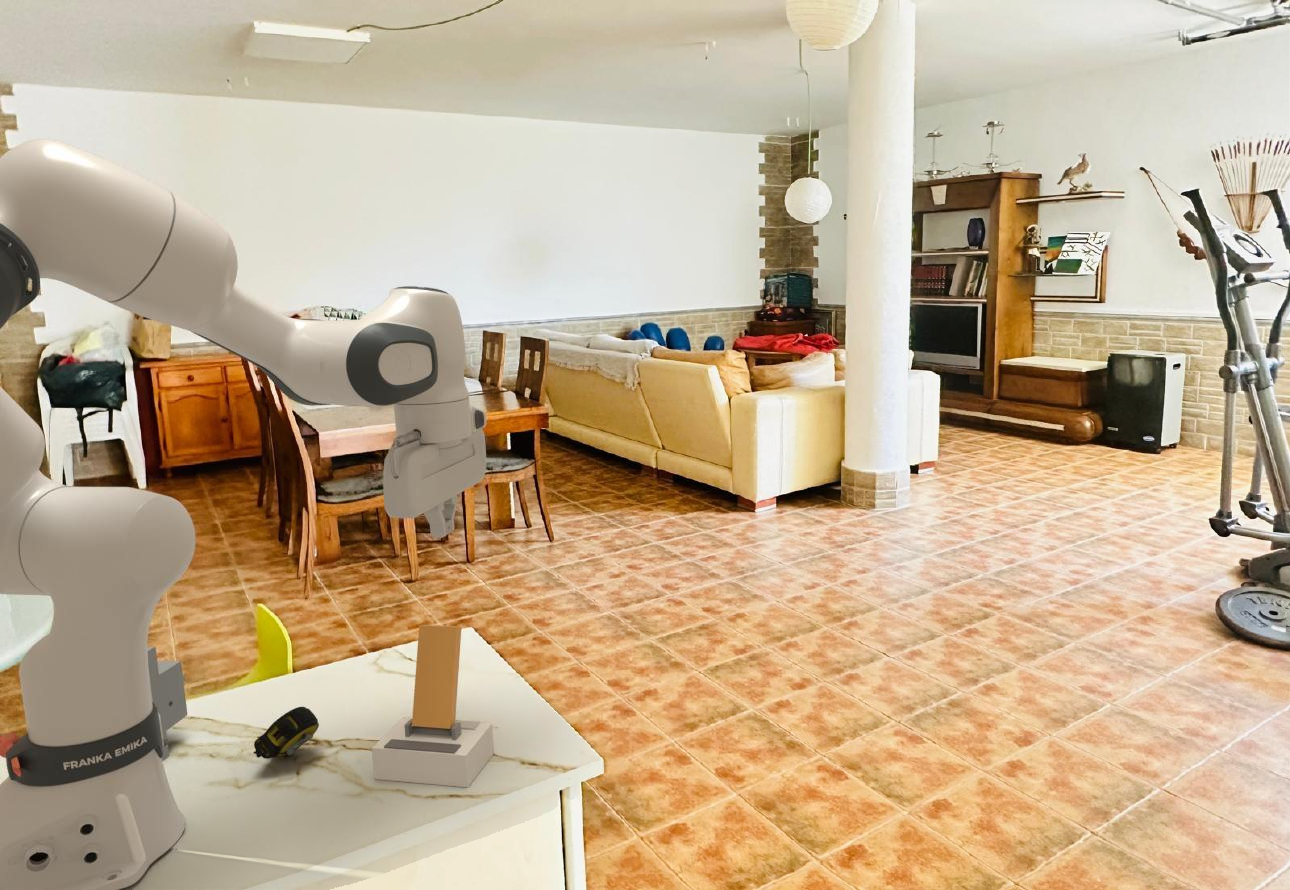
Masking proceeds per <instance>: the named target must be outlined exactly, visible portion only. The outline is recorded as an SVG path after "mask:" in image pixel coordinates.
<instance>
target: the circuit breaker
mask: <svg viewBox="0 0 1290 890" xmlns="http://www.w3.org/2000/svg"><path fill="white" fill-rule="evenodd" d="M147 652H148V666H149V678H150V688H151V696H152V702H154V704H155V707H157V709H158V713H159V715H160V720H161V727H162V734H163V744H164V746H163V756H162V761H163V762H164V761H166V760H167V759H168V758H169V757H170V751H169V750H170V749H169V744H165V740H168V734H167V731H168V730H170V729H171V728H172V727H174V726H175V725H176V724H178V723H179V722H180V721H181V720H183V719H185V718H186V717H187V716H188V709H187V700H186V691H185V684H184V683H185V682H186V679H185V678H186V677H185V675H184V674H183V666H182V661H181V660H180V661H178V660H158V655H157V648H156V646H147Z"/></svg>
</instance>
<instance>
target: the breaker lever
mask: <svg viewBox="0 0 1290 890" xmlns="http://www.w3.org/2000/svg"><path fill="white" fill-rule="evenodd" d="M417 636H418V638H417V648H416V649H417V651H416V652H417V653H416V662H415V663H416V664H415V665H416V666H415V677H414V691H413V692H414V693H413V704H412V705H413V706H412V717H411V718H412V726H413V729H412V732H413V733H418V734H431V735H444V736H452V734H451V728H452V727H453V726H454V725H455V720H456V713H457V700H458V687H459V686H458V685H459V670H460V668H459V667H460V654H461V640H462V626H456V625H455V626H452V625H429V624H420V625H419V626H418V635H417Z"/></svg>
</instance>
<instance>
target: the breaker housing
mask: <svg viewBox="0 0 1290 890" xmlns="http://www.w3.org/2000/svg"><path fill="white" fill-rule="evenodd" d="M412 729H413V726H412V717H410V716H409V717H407V716H403V717H401V719H400V720H399V721H398V722H397V723H395V725H394V726H393V727H392V728H391V729H389V730H388V732H386V733H385V734H384V736H382V738H381V739H379V740H378V741H377V742H376V743H375V744H374V745H373V746H372V747H371V755H372V766H373V776H374V777H373V778H374V780H380V781H390V782H391V781H393V782H405V783H412V784H413V783H415V784H425V785H426V784H427V785H435V786H436V785H437V786H446V787H447V786H448V787H458V788H459V787H460V788H469V787H470V786H471V785H472V783H473V782H474V781H475V779H476V778H477V776H478V775H479V774H480V773H481V771H482V770H483V768H484V767H486V764H487V763H488V762H489V761H490V759H492V757H493V755H494V754H495V750H494V749H495V748H494V735H493V734H494V732H493V723H490V722H480V721H474V720H458V719H455V725H454V726H453V727H452V728H451V734H452V736H444V735H431V734H418V733H413V732H412Z"/></svg>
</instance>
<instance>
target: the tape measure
mask: <svg viewBox="0 0 1290 890" xmlns="http://www.w3.org/2000/svg"><path fill="white" fill-rule="evenodd" d="M319 726H320V723H319V721H318V718H317V717H316V715H315V714H314V713H313V711H312V710H311V709H310V708H307V707H305V706H298V707H295V708H293V709H291V710H288V712H287V711H286V712H285V713H284V714H282V715H281V716H280V717H279V718H278V719H276V720H275V721H274V722H273V723H271V725H270V726H269V727H268V728H267V730H266V731H265V732H264V733H263V734H262V735H260V736H259V737H258V738H256V739H255V741H254V743H253V747H254V749H255V751H253V754H254V755H255V757H256V758H258V759H259V758H260V757H262V758H263V759H266V760H269V759H274V758H282V757H283V758H284V757H287V756H289V757H290V756H291V755H293V753H294V752H295V751H296V750H297V749H299V748H300V747H301V746H303V745H304V744H306V743H307V742H308V741H310V740H311V739H313V737H314V735H315V733H316V732H317V731H318V728H320V727H319Z"/></svg>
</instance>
